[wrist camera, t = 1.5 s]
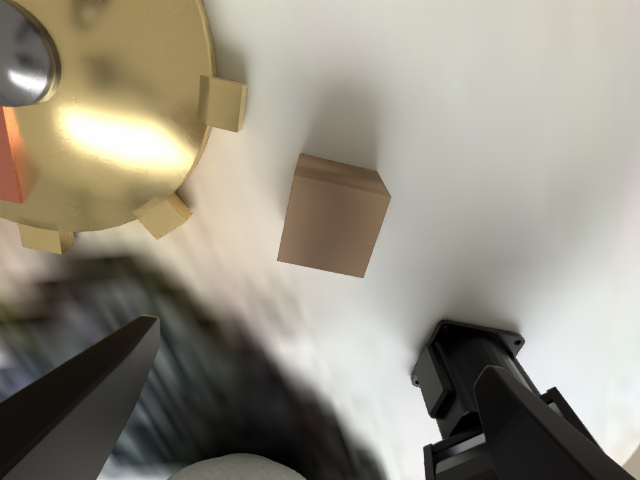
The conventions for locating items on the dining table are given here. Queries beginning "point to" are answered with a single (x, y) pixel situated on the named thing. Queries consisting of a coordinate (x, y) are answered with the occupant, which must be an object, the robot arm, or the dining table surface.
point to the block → (333, 216)
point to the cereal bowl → (237, 469)
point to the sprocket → (105, 113)
